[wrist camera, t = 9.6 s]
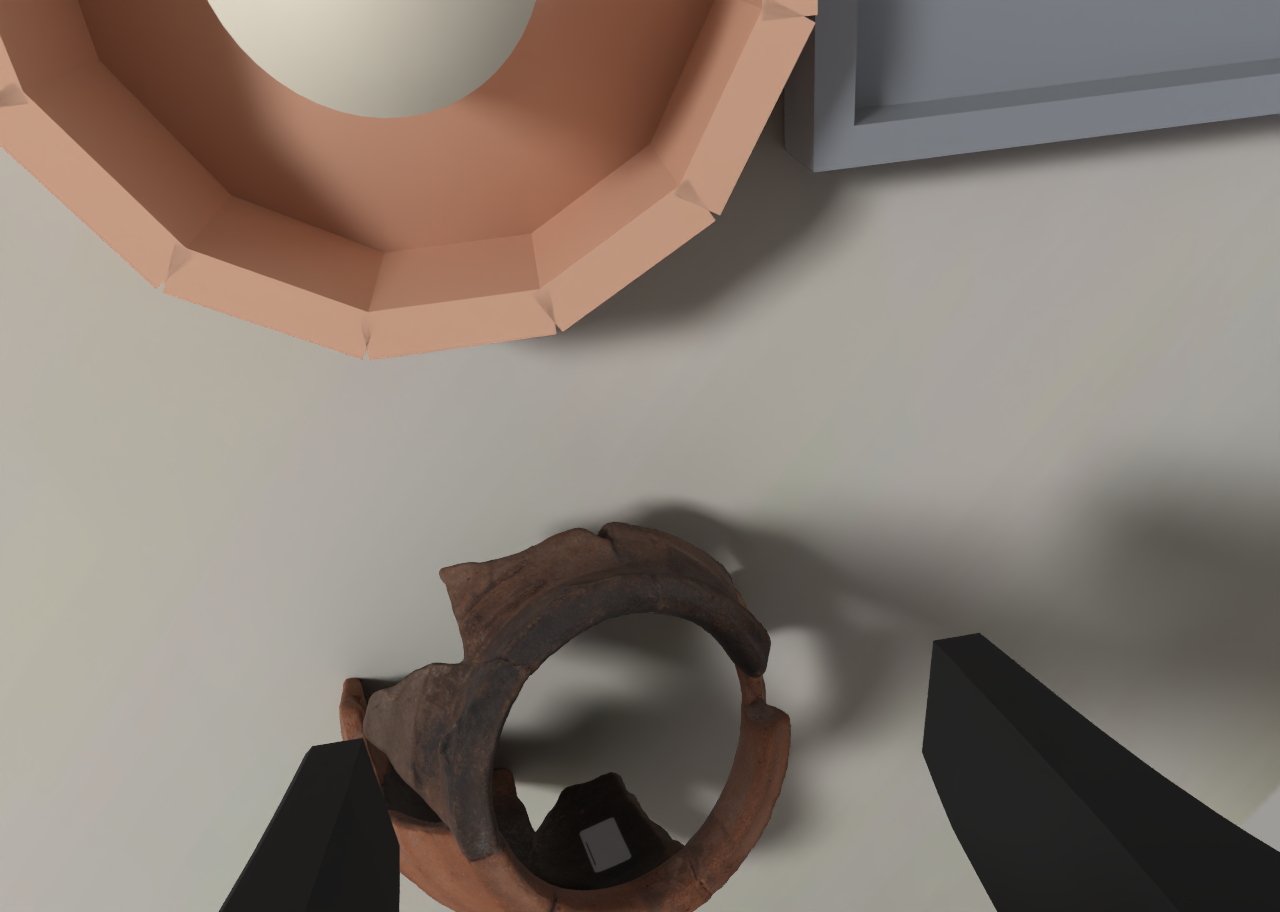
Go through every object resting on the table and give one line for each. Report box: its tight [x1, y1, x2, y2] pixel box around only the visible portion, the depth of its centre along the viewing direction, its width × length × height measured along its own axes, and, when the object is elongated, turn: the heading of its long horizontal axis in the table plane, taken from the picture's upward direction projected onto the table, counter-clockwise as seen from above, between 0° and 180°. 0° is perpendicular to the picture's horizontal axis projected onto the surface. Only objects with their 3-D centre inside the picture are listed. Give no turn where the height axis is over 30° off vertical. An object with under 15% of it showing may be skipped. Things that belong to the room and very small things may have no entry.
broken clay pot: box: [339, 522, 791, 912], centre depth 22 cm, size 12×9×8 cm
